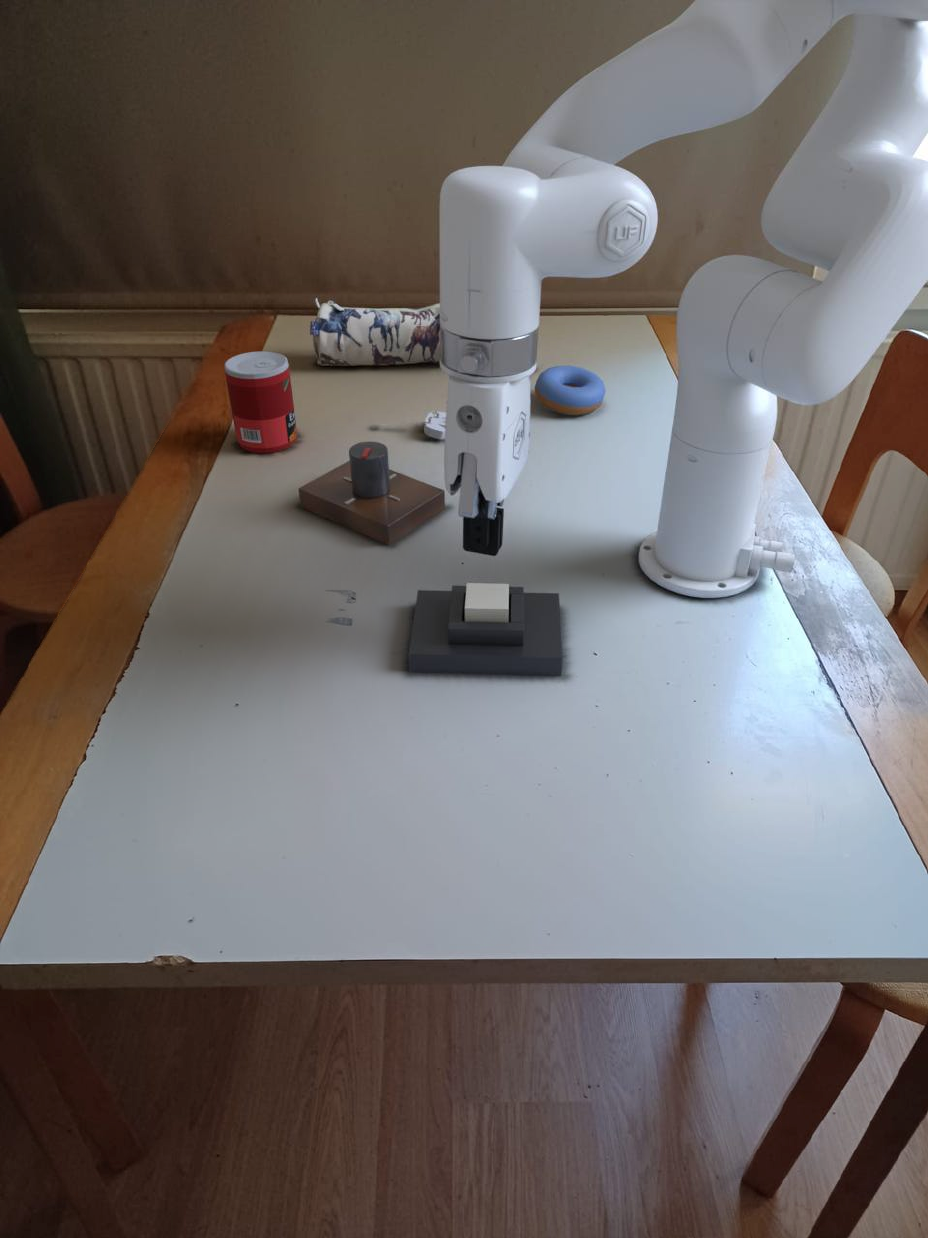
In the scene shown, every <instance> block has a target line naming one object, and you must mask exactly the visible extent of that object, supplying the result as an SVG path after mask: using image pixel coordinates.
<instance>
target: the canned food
mask: <svg viewBox="0 0 928 1238" xmlns="http://www.w3.org/2000/svg"><path fill="white" fill-rule="evenodd" d="M224 374H225V380H226V386H227V387H226V388H227V391H228V398H229V403H230V409H231V414H232V415H231V416H232V421H233V426H234V432H235V436H236V440H237V442H238V444H239V446H240V448H242V449H243V450H244V451H247V452H248V453H249V452H250V453H254V454H273V453H278V452H282V451H285V450H287V449H288V448H291V446H293V445H294V444H295V443H296V441H297V437H298V430H297V421H296V412H295V404H294V397H293V388H292V380H291V373H290V365H289V362H288V358H287V357H286V356H285V355H283V354H280V353H277V352H272V351H251V352H244V353H240V354H236V355H234V356H232V357H230V358H229V359H227V360H226V361H225V362H224Z"/></svg>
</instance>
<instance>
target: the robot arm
mask: <svg viewBox="0 0 928 1238" xmlns="http://www.w3.org/2000/svg"><path fill="white" fill-rule="evenodd" d="M850 15H853V25H852V26H853V27H852V41H851V49H850V54H849V57H848V62H847V66H846V68H845V70H844V73H843V75H842V77H841V79H840V81H839V83H838V85H837V86H836V88H835V89H834V91H833V93H832V94H831V97H829V100H828V102H827V103H826V105H825V106H824V107H823V109H822V111H821V112H820V113H819V115H818V117H817V118H816V120H815V121H814V122H813V123H812V125H811V127H810V129H809V130H808V132H807V133H806V134H805V136H804V138H803V139H802V141H800V144H799V145H798V147H797V148H796V150H795V151H794V152H793V154H792V156H791V157H790V159H788V162H787V163H786V164H785V165H784V168H783V169H782V170H781V172H780V174H779V175H778V177H777V178H776V180H775V181H774V183H773V185H772V187H771V189H770V191H769V192H768V195H767V196H766V199H765V201H764V203H763V205H762V209H761V215H760V228H761V232H762V234H763V236H764V238H765V240H766V242H768V243H769V244H770V245H771V246H772V247H773V248H774V249H775V250H777V251H778V252H780V253H782V254H784V255H786V256H788V257H790V258H792V259H795V260H798V261H800V262H803V263H806V264H809V265H812V266H815V267H817V268H820V269H822V270H826V271H828V273H827V274H826V276H825V278H824V279H823V280H820V279H817V278H814V277H811V276H809V275H807V274H803V273H801V272H799V271H797V270H795V269H791V268H790V267H789V268H788V267H786V266H783V265H780V264H777V263H774V262H772V261H768V260H765V259H762V258H759V257H755V256H751V255H746V254H745V255H743V254H728V255H722V256H719V257H716V258H713V259H711V260H709V261H707V262H706V263H705V264H703V265H702V266H700V267H699V268H698V269H697V270H696V271H695V272H694V274H692V276H691V277H690V278H689V280H688V281H687V283H686V285H685V287H684V288H683V291H682V293H681V296H680V299H679V302H678V306H677V313H676V331H675V332H676V349H677V367H678V368H677V372H678V373H677V385H676V386H677V388H676V397H675V398H676V399H675V406H674V413H673V419H672V427H671V433H670V440H669V446H668V453H667V461H666V468H665V474H664V480H663V488H662V493H661V502H660V508H659V515H658V516H659V517H658V523H657V528H656V529H657V530H656V531H655V532H653V533H652V534H649V535H648V536H647V537H646V538H645V539H644V540H643V541H642V543H641V544H640V547H639V552H638V563H639V567H640V569H641V570H642V572H643V573H644V574H645V575H646V577H647V578H649V579H650V580H651V581H652V582H654V583H655V584H656V585H658V586H660V587H662V588H664V589H665V590H668V591H671V592H674V593H676V594H679V595H683V596H687V597H693V598H700V599H719V598H726V597H727V598H728V597H731V596H734V595H737V594H740V593H742V592H745V591H746V590H748V589H749V588H751V587H752V586H753V585H754V584H755V582H757V579H758V577H759V574H760V570H761V568H766V569H771V570H774V571H779V572H786V573H792V572H793V567H794V562H795V557H796V556H795V553H792V552H783V551H782V550H783V544H784V542H783V541H778V540H766V539H761V536H758V535H757V536H756V535H755V534H756V527H757V524H756V522H755V521H756V516H757V511H758V508H759V507H758V506H759V503H760V499H761V498H760V497H761V493H762V488H763V485H764V479H765V475H766V471H767V467H768V461H769V457H770V453H771V448H772V445H773V444H772V443H773V440H774V435H775V431H776V425H777V419H778V397H779V398H781V399H782V400H783V399H784V400H786V401H787V402H790V403H793V404H796V405H802V406H815V405H820V404H823V403H826V402H828V401H830V400H832V399H833V398H835V397H837V396H838V395H839V394H841V392H843V391H844V390H845V389H847V387H849V385H850V384H851V383H852V381H853V380H855V379H856V377H857V376H858V375H859V374H860V372H861V371H862V370H863V368H864V367H865V366H866V364H868V363H869V361H870V359H871V358H872V357H873V355H874V354H875V352H876V351H877V350H878V348H879V347H880V346H881V345H882V343H883V342H884V340H885V339H886V337H887V336H888V335H889V334H890V333H891V331H892V330H893V328H894V327H895V325H896V324H897V323H898V321H899V320H900V319H901V317H903V315H904V313H905V311H906V310H907V309H908V308H909V306H910V305H911V304H912V302H913V301H914V299H915V298H916V297H917V296H918V294H919V292H920V291H921V290H922V289H923V287H924V286H925V284H926V283H927V282H928V160H924V159H921V158H917V157H914V155H915V154H916V152H917V151H918V149H919V147H920V146H921V144H922V143H923V141H924V140H925V138H926V136H927V135H928V0H694V1H693V2H692V3H691V4H690V6H688V7H687V8H686V9H685V10H684V11H683V12H682V13H681V14H680V15H679V16H678V17H677V18H676V19H675V20H673V21H672V22H671V23H670V24H669V23H668V24H667V25H666V26H664V27H662V28H660V29H658V30H657V31H654V32H653V33H651V34H649V35H647V36H646V37H644V38H643V39H641V40H639V41H637V42H636V43H635V44H633V45H632V46H630V47H629V48H627V49H626V50H624V51H622V52H621V53H619V54H618V55H616V56H614V57H612V58H611V59H609V60H608V61H606V62H604V63H603V64H602V65H599V66H598V67H596V68H595V69H593V70H592V71H590V72H589V73H587V74H586V75H585V76H583V77H582V78H580V79H579V80H578V81H576V82H575V83H574V84H573V85H571V86H570V87H569V88H568V89H567V90H566V91H564V92H563V93H562V94H561V95H560V96H559V97H558V98H556V100H554V102H553V103H552V104H551V105H550V106H549V107H547V109H546V110H545V111H544V113H542V115H541V116H540V117H539V118H538V119H537V121H536V122H535V123H534V124H533V125H532V126H530V128H529V129H528V130H527V132H526V133H525V134H524V135H523V136H522V137H521V138H520V140H518V142H517V144H516V145H515V146H514V147H513V149H512V150H511V151H510V153H509V154H508V156H507V157H506V159H505V161H504V163H503V164H502V165H477V166H469V167H464V168H460V169H457V170H455V171H453V172H451V173H450V174H449V175H448V176H447V177H445V179H444V181H443V182H442V184H441V188H440V191H439V207H438V208H439V211H438V212H439V213H438V214H439V217H438V219H439V223H438V225H439V227H438V228H439V231H438V232H439V303H440V364H439V367H440V369H441V371H442V372H443V373H445V374H446V375H447V376H448V385H447V398H446V409H445V411H446V412H445V413H446V425H445V437H444V450H443V451H444V453H443V455H444V456H443V466H444V467H443V470H444V487H445V490H446V492H447V494H448V495H450V496H454V495H456V494H457V493H458V491H459V500H458V501H459V502H458V513H457V515H458V517H462V549H463V550H464V551H465V552H468V553H475V554H481V555H485V556H491V557H496V556H497V555H498V554H499V552H500V550H501V548H502V546H503V541H504V540H503V539H504V538H503V537H504V516H505V515H504V514H505V508H502V507H503V505H504V503H505V499H506V498H507V496H508V495H509V493H510V492H511V490H512V488H513V487H514V485H515V483H516V482H517V480H518V479H519V477H520V475H521V474H522V471H523V470H524V468H525V465H526V464H527V462H528V459H529V455H530V446H531V445H530V444H531V443H530V442H531V376H532V374H534V373H535V371H536V370H537V362H538V360H537V359H538V345H539V344H538V343H539V328H540V316H541V315H540V314H541V313H540V312H541V297H542V282H543V280H544V279H546V278H575V279H576V278H579V279H600V278H607V277H608V278H609V277H612V276H615V275H617V274H621V273H623V272H625V271H627V270H629V269H630V268H631V267H633V266H634V265H636V264H637V263H638V262H639V261H640V260H641V259H642V258H643V257H644V256H645V255H646V253H648V251H649V249H650V247H651V245H652V244H653V242H654V239H655V236H656V234H657V228H658V220H659V216H658V214H659V213H658V207H657V202H656V199H655V197H654V195H653V193H652V191H651V190H650V189H649V186H648V185H647V184H646V183H645V182H644V181H643V180H642V179H641V178H639V177H638V176H637V175H636V174H634V173H632V172H631V171H629V170H627V169H625V168H623V167H621V166H617V165H616V164H618V163H620V162H621V161H622V160H624V159H625V158H627V157H628V156H630V155H632V154H633V153H636V152H637V151H639V150H641V149H642V148H645V147H647V146H649V145H651V144H653V143H656V142H660V141H663V140H666V139H669V138H673V137H677V136H681V135H685V134H690V133H691V134H692V133H693V132H699V131H703V130H708V129H712V128H715V127H718V126H721V125H725V124H727V123H730V122H734V121H735V120H736V121H737V120H739V119H741V118H743V117H745V116H748V115H749V114H751V113H753V112H754V111H755V110H757V108H758V107H760V106H761V105H762V104H763V103H764V101H765V100H766V99H767V98H768V97H769V96H770V95H771V94H772V92H774V90H775V89H776V88H777V87H778V86H779V85H780V84H781V83H782V81H784V79H785V78H786V77H787V76H788V75H789V74H790V73H791V72H792V70H793V69H794V68H795V67H796V66H797V65H798V64H799V63H800V62H801V61H802V60H803V59H804V58H805V56H807V54H808V53H810V51H811V50H812V49H813V48H814V47H815V46H816V45H817V44H818V42H819V41H821V40H822V38H823V37H824V36H825V35H826V34H827V33H829V32H830V30H831V29H832V28H833V27H834V26H835V25H836V24H837V23H838V22H839V21H840V20H841V19H843V18H845V17H847V16H850Z"/></svg>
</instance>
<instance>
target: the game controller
mask: <svg viewBox="0 0 928 1238" xmlns="http://www.w3.org/2000/svg"><path fill="white" fill-rule="evenodd" d="M406 423H409V421H406V422H405V421H404V422H403V423H401V425H400V426H398V428H400V427H401V426H402V425H403V424H406ZM410 423H413V424H415V425H416V426H418V424H417V423H416V422H413V421H410ZM380 425H383V426H386V423H385V424H384V423H380V424H377V426H380ZM445 425H446V412H444V411H438V410H433V411H431V412H429V413H428V414H427V415H426V417H425V420H424V424H420V426H424V427H423V432H424V434H425V435H426V436H428V437H430V438H434V439H437V440H445ZM374 427H375V426H373V429H375V428H374ZM390 428H393V429H394V428H397V426H392V427H391V426H390Z"/></svg>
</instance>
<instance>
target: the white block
mask: <svg viewBox="0 0 928 1238" xmlns="http://www.w3.org/2000/svg"><path fill="white" fill-rule="evenodd" d="M465 586H466V597H465V622H503V623H508V611H509V587H510V584H509V583H490V582H489V583H487V582H485V583H484V582H483V583H482V582H466V585H465Z"/></svg>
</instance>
